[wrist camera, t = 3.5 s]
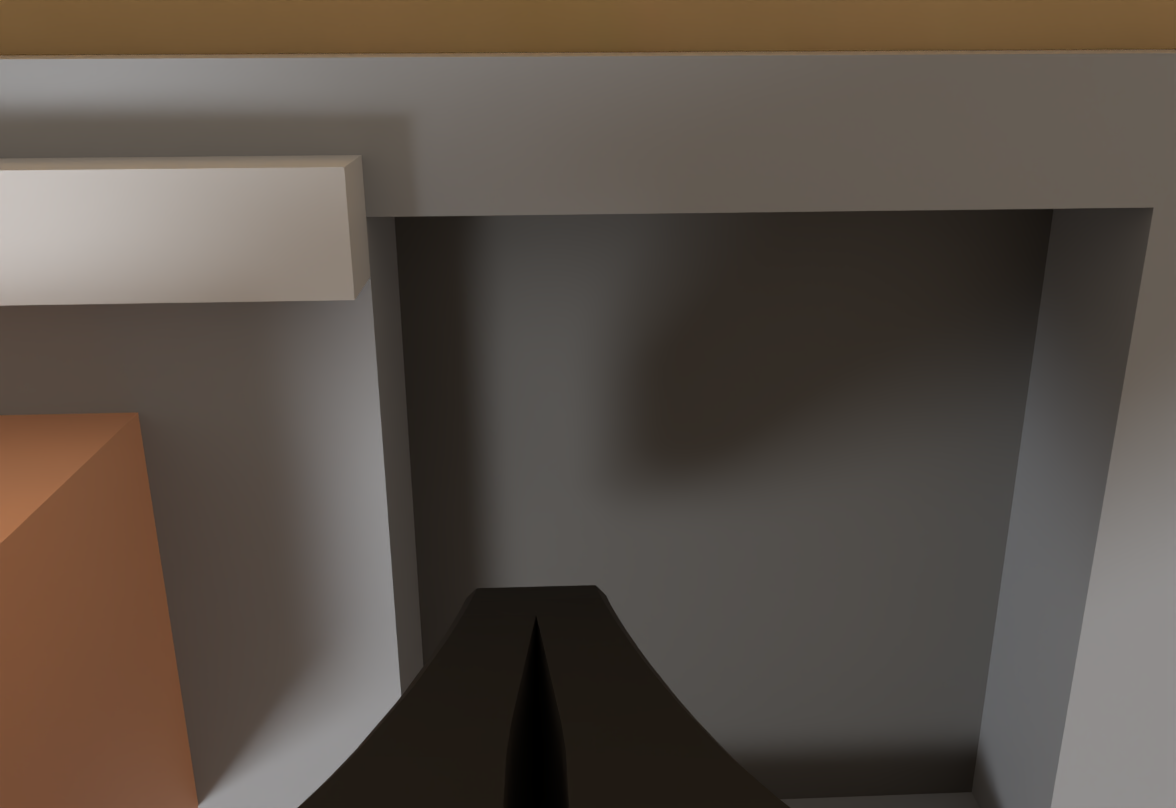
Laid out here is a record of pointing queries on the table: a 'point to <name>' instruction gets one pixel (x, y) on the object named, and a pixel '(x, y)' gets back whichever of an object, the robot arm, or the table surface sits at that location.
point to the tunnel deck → (636, 388)
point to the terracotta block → (85, 622)
